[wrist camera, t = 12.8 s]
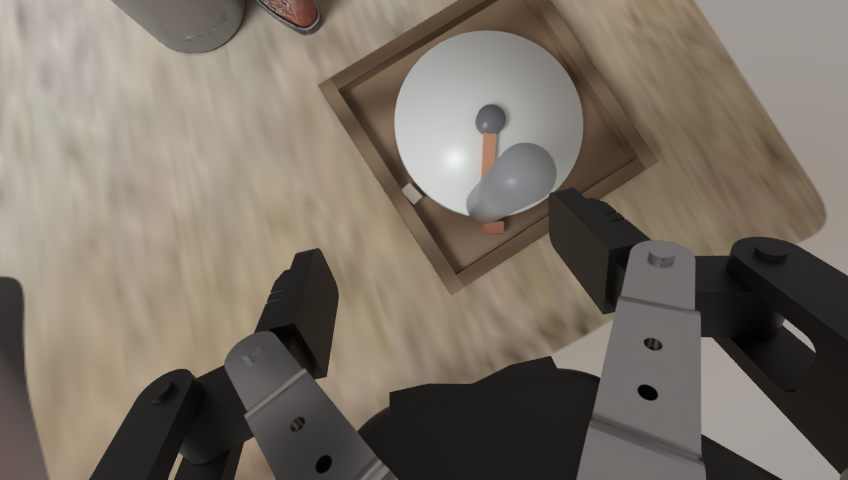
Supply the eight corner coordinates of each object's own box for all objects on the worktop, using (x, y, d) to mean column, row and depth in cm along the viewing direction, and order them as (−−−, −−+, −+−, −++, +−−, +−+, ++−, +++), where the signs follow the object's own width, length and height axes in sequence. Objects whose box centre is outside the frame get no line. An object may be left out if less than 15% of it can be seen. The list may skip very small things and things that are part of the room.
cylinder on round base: (374, 200, 31) (346, 160, 18) (419, 21, 31) (420, -132, 19) (553, 242, 31) (645, 232, 18) (592, 64, 32) (705, -61, 19)
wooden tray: (324, 97, 32) (317, 85, 30) (516, -20, 33) (523, -39, 31) (449, 292, 31) (451, 295, 29) (641, 168, 32) (657, 161, 30)
